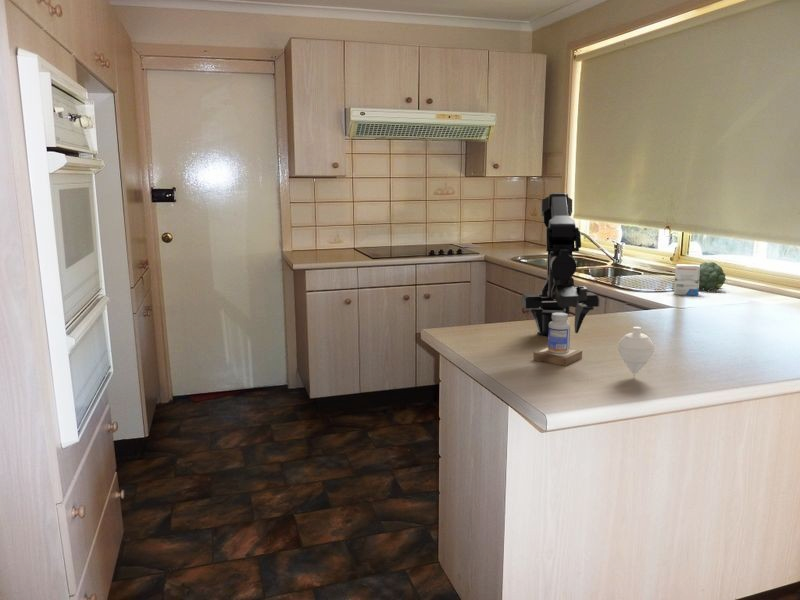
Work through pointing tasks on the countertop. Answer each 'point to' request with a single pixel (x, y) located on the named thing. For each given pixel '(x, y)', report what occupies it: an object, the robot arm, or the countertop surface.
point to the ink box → (687, 279)
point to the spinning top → (635, 350)
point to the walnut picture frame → (557, 356)
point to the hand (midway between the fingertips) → (558, 333)
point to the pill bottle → (559, 333)
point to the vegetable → (711, 276)
